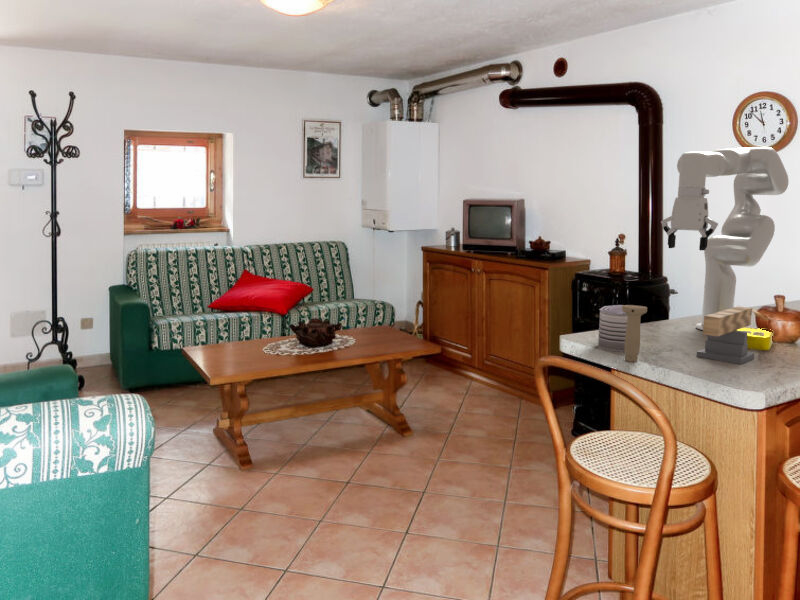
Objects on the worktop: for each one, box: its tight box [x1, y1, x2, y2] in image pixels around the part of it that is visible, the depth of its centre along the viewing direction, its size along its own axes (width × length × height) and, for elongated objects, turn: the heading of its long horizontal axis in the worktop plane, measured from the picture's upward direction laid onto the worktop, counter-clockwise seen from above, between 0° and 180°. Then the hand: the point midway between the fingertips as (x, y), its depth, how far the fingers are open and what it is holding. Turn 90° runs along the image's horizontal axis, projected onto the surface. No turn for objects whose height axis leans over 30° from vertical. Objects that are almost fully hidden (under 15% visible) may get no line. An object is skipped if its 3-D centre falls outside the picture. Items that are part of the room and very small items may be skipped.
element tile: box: [738, 326, 774, 351], centre depth 220 cm, size 15×15×5 cm
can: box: [597, 304, 628, 353], centre depth 211 cm, size 11×11×12 cm
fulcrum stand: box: [696, 330, 755, 365], centre depth 200 cm, size 10×12×8 cm
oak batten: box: [702, 305, 753, 336], centre depth 199 cm, size 24×4×5 cm, turn 135°
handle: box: [622, 304, 648, 363], centre depth 194 cm, size 5×6×15 cm
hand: (686, 249), depth 221 cm, fingers open, 9 cm apart
